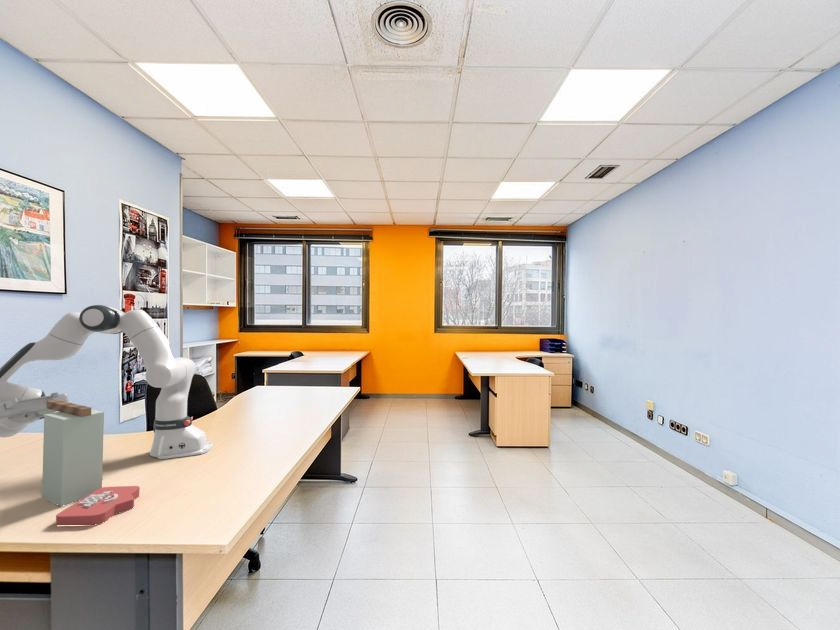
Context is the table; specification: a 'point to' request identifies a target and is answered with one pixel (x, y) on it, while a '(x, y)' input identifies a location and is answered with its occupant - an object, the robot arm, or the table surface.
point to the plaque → (99, 506)
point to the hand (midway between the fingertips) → (37, 397)
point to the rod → (69, 408)
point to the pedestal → (72, 456)
